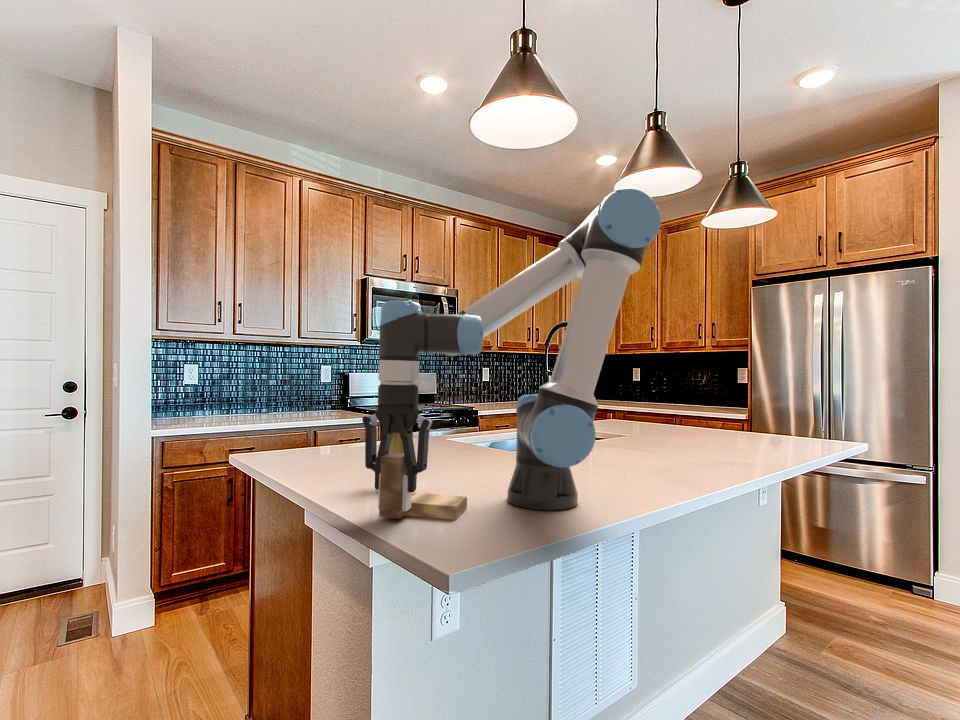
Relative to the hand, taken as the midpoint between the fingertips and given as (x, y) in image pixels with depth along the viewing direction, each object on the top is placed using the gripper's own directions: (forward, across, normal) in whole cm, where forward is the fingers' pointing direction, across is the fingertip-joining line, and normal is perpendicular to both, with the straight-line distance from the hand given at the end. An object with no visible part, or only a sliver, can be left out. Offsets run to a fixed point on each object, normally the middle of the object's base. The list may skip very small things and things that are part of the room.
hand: (394, 507), depth 99 cm
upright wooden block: (+1, 0, -3) cm, 3 cm away
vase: (+2, +9, -24) cm, 26 cm away
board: (+2, -4, -7) cm, 8 cm away
